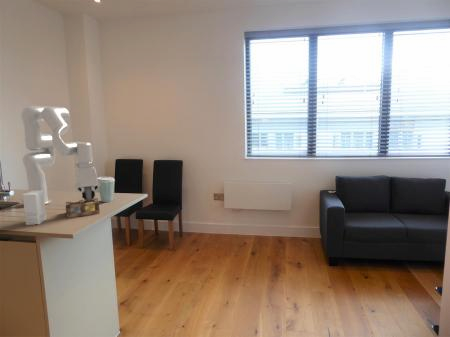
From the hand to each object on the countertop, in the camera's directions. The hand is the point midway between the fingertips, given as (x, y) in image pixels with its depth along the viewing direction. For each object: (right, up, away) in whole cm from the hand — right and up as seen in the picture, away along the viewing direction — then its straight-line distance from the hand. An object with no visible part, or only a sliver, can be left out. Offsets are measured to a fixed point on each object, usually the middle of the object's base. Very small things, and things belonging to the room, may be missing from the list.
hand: (88, 198), depth 172 cm
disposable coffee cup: (+1, -4, +24) cm, 25 cm away
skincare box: (-20, -11, -14) cm, 27 cm away
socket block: (-3, -8, 0) cm, 9 cm away
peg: (0, -4, +1) cm, 4 cm away
